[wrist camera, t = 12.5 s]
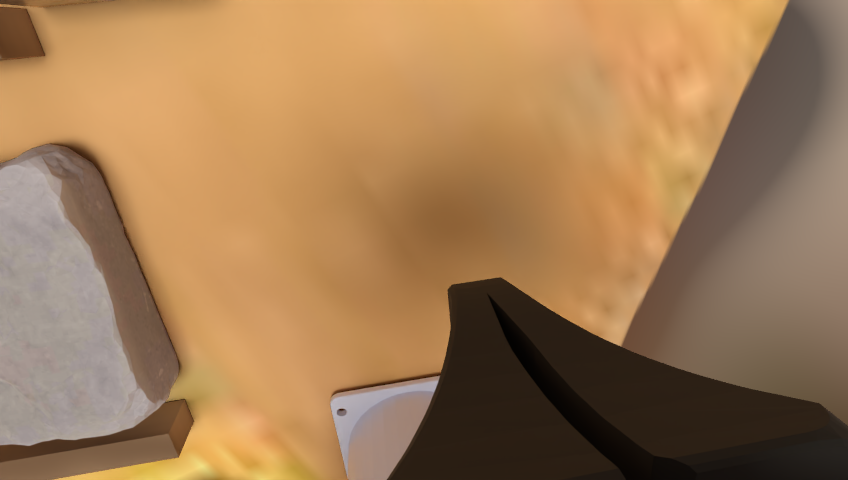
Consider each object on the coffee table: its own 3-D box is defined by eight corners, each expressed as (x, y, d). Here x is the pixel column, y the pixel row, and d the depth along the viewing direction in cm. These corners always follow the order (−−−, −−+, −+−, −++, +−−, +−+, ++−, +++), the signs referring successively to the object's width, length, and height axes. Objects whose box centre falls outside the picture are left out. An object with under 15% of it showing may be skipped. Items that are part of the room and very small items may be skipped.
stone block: (24, 386, 24) (205, 376, 23) (-76, 464, 19) (144, 456, 18) (-105, 159, 19) (114, 132, 18) (-272, 194, 15) (3, 161, 14)
